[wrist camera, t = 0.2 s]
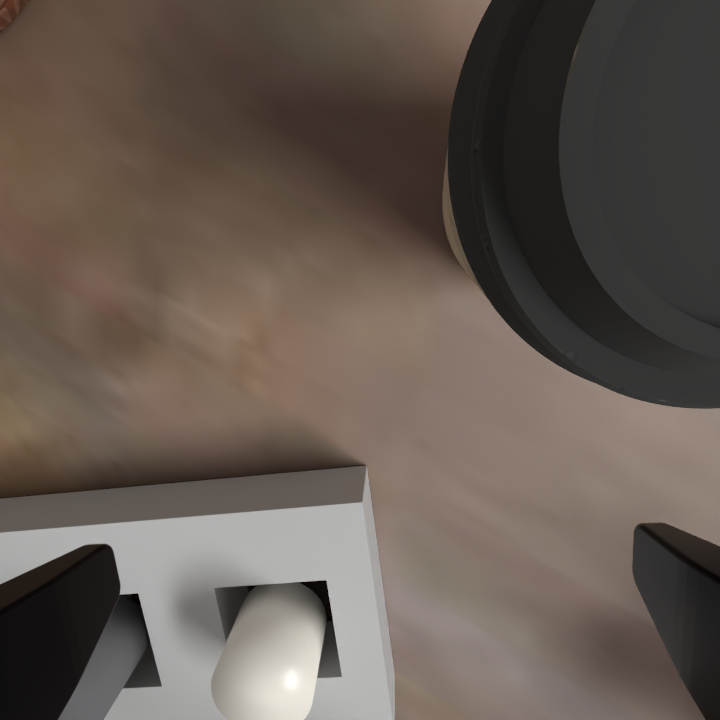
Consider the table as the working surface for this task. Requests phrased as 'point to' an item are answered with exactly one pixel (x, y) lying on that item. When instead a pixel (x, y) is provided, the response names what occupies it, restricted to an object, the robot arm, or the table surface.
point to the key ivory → (271, 655)
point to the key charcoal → (110, 663)
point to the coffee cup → (596, 187)
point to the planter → (10, 11)
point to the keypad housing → (225, 577)
